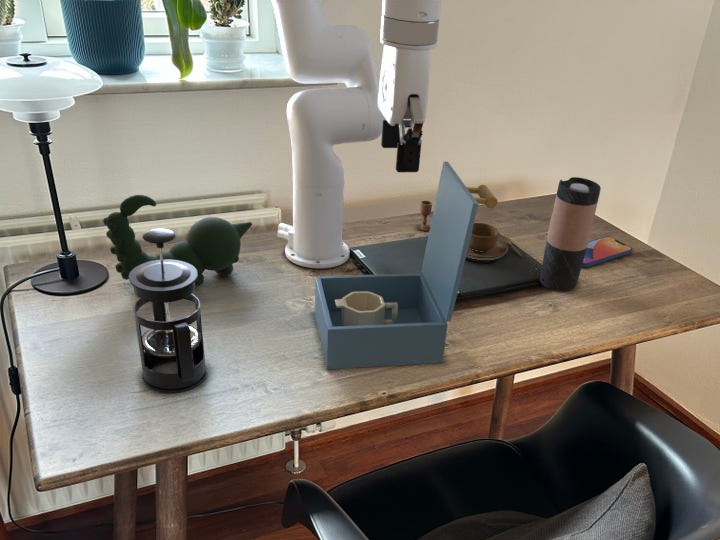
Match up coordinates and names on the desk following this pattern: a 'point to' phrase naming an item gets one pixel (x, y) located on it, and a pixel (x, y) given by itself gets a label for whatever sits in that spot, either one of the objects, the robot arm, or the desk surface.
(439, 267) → the lid
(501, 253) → the place setting
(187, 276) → the french press
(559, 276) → the travel mug
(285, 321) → the desk surface
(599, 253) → the smartphone
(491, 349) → the desk surface
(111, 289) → the desk surface
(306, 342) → the desk surface
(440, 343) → the chest
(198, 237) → the toy figurine
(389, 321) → the jug
